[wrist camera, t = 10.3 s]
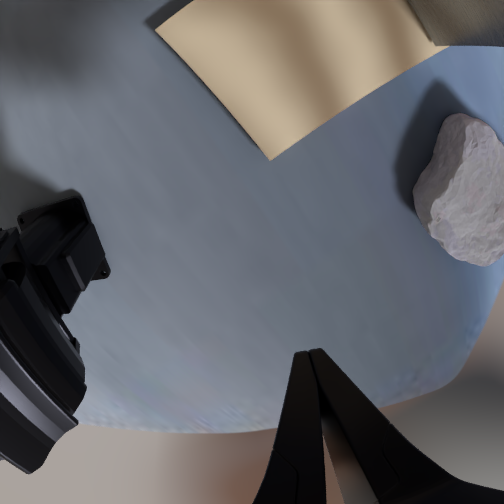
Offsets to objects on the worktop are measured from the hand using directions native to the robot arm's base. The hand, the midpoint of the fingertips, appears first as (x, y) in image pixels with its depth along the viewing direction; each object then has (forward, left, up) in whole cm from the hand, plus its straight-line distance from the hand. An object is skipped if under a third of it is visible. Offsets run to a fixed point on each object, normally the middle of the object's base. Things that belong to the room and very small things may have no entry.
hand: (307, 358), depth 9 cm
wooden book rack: (+7, +13, -12) cm, 19 cm away
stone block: (+16, -1, -13) cm, 21 cm away
